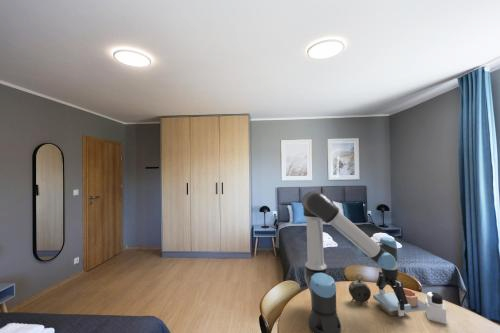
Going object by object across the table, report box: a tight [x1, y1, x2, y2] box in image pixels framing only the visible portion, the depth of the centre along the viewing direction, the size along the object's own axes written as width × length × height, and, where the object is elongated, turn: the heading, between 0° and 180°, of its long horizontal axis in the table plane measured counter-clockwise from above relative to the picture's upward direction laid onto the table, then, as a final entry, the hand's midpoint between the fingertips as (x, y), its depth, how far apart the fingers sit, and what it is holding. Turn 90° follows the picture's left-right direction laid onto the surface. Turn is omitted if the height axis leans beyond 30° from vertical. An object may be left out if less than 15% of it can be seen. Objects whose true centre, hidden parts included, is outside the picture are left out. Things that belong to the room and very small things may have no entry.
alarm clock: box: [348, 273, 372, 306], centre depth 125 cm, size 11×5×16 cm, turn 83°
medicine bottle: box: [424, 291, 448, 325], centre depth 110 cm, size 7×7×12 cm
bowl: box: [403, 287, 419, 307], centre depth 124 cm, size 10×10×5 cm
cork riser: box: [378, 302, 398, 316], centre depth 117 cm, size 8×8×4 cm
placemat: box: [404, 299, 426, 313], centre depth 124 cm, size 16×16×1 cm
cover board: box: [372, 292, 411, 311], centre depth 117 cm, size 12×12×2 cm
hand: (391, 308), depth 117 cm, fingers closed on cover board, 12 cm apart
